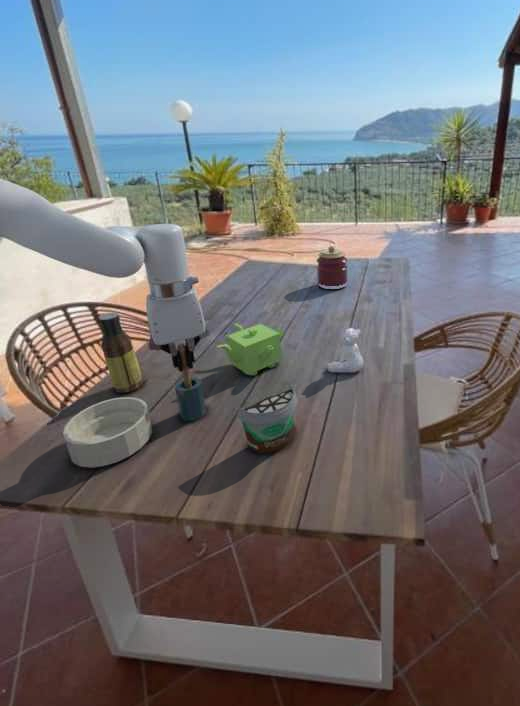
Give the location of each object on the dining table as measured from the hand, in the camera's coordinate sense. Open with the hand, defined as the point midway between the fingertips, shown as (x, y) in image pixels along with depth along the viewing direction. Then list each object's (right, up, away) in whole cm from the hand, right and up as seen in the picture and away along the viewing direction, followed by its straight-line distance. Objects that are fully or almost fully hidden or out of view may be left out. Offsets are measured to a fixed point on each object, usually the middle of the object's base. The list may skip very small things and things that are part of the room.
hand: (184, 366), depth 83 cm
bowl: (-13, -15, -4) cm, 20 cm away
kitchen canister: (+26, +18, +86) cm, 91 cm away
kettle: (+9, -5, +24) cm, 26 cm away
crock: (0, -11, +4) cm, 12 cm away
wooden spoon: (0, -11, +4) cm, 12 cm away
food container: (+21, -15, -5) cm, 26 cm away
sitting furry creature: (+35, -5, +23) cm, 42 cm away
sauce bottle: (-20, -8, +14) cm, 26 cm away
